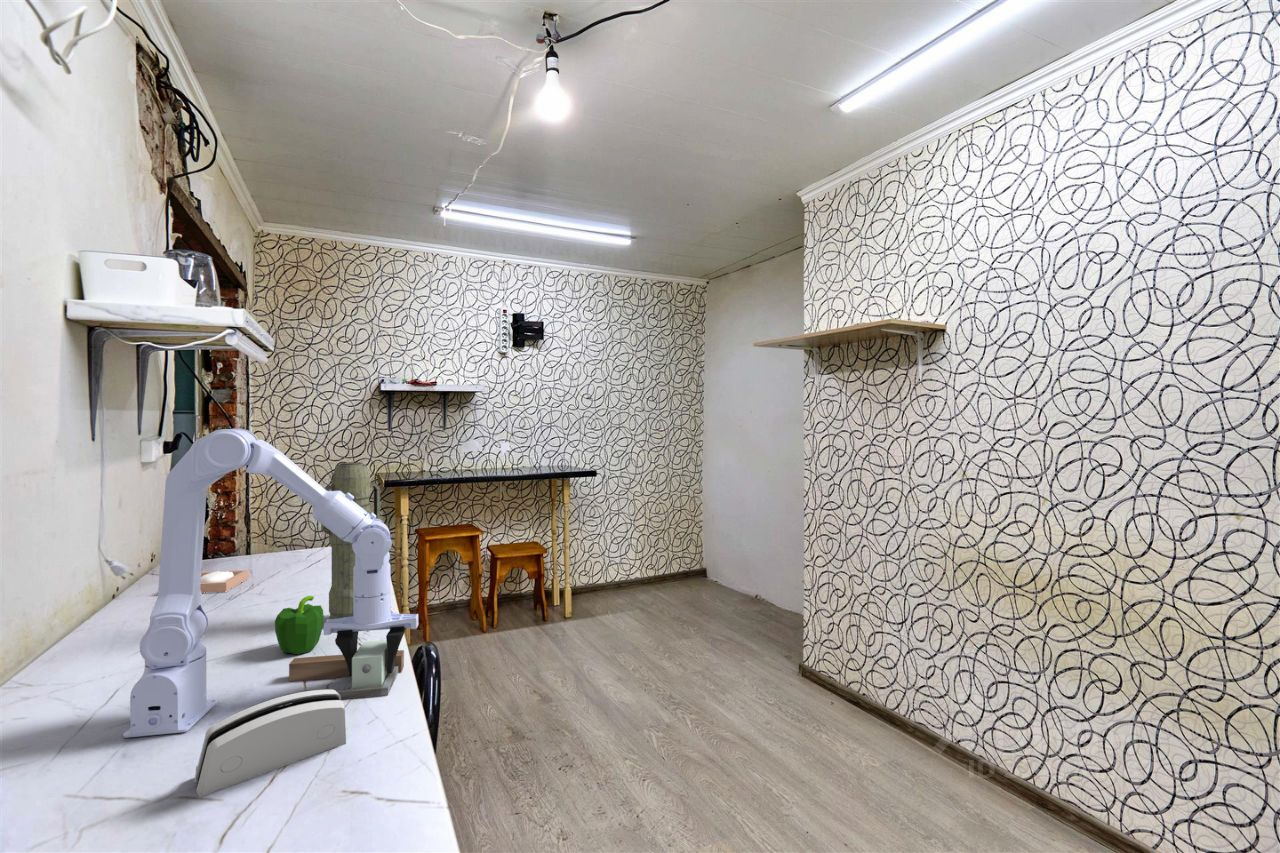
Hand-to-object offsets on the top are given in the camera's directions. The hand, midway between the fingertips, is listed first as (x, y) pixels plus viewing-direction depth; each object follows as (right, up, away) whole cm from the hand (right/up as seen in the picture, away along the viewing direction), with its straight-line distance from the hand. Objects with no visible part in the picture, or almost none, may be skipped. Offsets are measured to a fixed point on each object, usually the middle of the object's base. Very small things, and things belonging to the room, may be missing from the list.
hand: (372, 672), depth 98 cm
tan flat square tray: (-69, -1, +56) cm, 89 cm away
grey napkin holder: (-2, -3, -23) cm, 23 cm away
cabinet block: (0, -2, 0) cm, 2 cm away
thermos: (-19, -2, +31) cm, 36 cm away
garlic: (-68, -1, +57) cm, 89 cm away
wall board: (-5, -2, -1) cm, 5 cm away
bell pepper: (-20, -2, +14) cm, 25 cm away
